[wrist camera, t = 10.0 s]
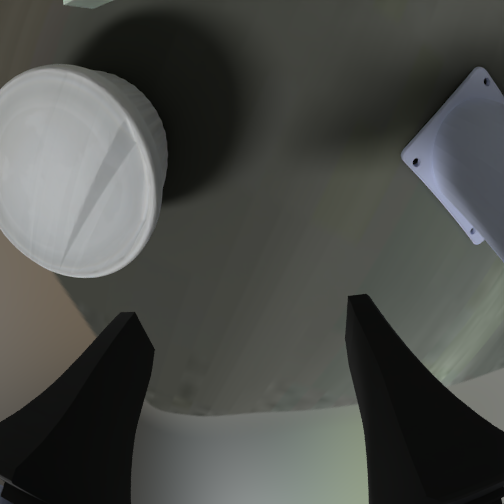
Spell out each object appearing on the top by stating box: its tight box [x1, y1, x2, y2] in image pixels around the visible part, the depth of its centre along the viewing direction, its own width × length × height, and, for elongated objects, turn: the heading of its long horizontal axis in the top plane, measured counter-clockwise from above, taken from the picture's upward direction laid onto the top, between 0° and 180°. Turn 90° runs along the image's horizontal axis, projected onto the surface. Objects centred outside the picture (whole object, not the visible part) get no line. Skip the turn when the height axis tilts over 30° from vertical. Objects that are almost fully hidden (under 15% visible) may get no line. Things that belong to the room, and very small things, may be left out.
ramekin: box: [0, 64, 168, 278], centre depth 15 cm, size 11×11×5 cm
